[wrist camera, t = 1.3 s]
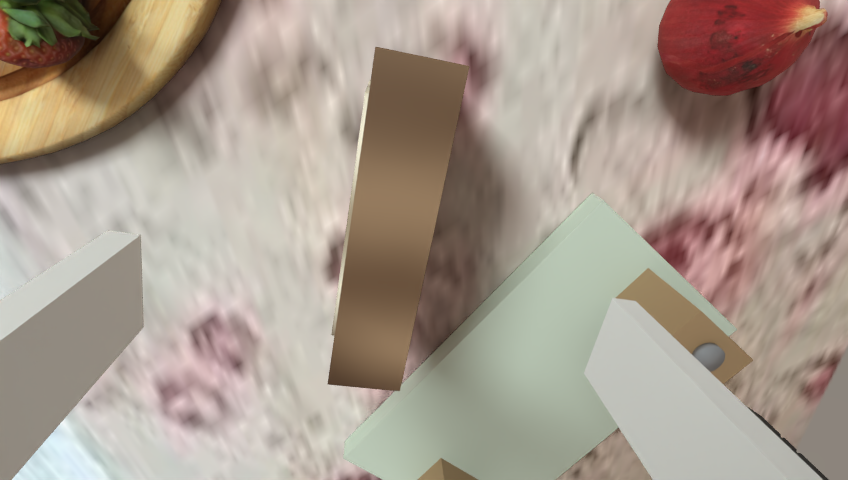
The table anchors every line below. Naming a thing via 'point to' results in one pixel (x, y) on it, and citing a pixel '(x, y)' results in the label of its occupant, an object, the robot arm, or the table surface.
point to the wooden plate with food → (87, 65)
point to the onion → (734, 41)
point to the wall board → (536, 362)
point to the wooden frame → (392, 214)
